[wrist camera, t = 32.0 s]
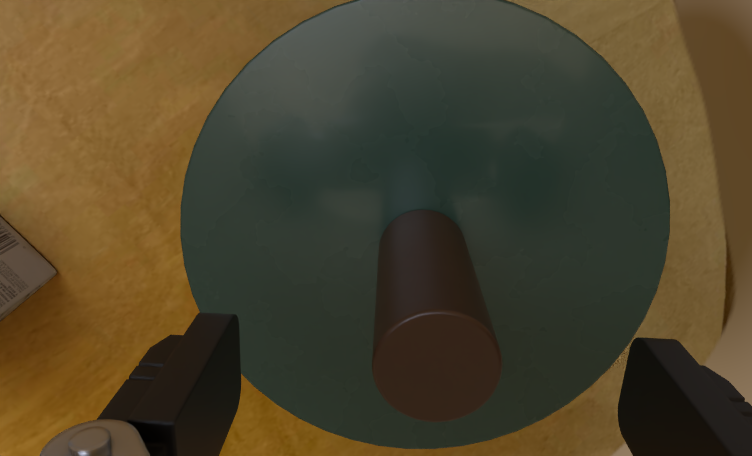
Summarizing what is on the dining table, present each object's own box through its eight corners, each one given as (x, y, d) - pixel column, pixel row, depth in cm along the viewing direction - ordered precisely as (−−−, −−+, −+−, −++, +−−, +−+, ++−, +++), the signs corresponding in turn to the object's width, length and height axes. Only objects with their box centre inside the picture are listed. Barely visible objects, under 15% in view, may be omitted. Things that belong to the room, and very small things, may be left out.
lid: (701, 3, 17) (937, -6, 10) (609, 438, 22) (719, 652, 14) (178, -23, 17) (16, -52, 10) (203, 415, 22) (108, 616, 14)
